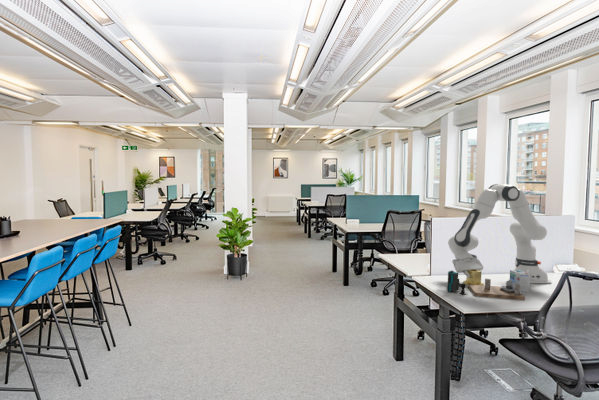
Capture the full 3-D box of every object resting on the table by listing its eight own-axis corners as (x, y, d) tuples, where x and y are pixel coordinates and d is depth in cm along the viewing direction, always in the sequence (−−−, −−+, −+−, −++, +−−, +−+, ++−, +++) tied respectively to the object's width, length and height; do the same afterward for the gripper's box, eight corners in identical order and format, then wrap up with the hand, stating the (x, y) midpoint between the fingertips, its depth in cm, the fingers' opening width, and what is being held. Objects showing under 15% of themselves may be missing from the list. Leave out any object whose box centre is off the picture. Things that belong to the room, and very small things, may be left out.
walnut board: (513, 290, 230) (514, 277, 230) (524, 300, 213) (525, 286, 212) (467, 287, 236) (468, 274, 235) (475, 296, 218) (475, 282, 218)
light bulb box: (508, 286, 240) (509, 269, 240) (518, 286, 241) (519, 269, 240) (519, 291, 230) (520, 273, 229) (530, 291, 230) (531, 274, 229)
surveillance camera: (464, 275, 217) (447, 271, 225) (463, 295, 218) (446, 291, 225) (468, 273, 221) (452, 270, 229) (467, 294, 222) (451, 290, 229)
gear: (515, 289, 227) (516, 278, 227) (521, 293, 218) (522, 282, 218) (497, 287, 229) (498, 277, 229) (502, 292, 220) (503, 281, 220)
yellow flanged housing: (473, 281, 249) (474, 268, 249) (486, 286, 239) (487, 272, 239) (460, 282, 246) (461, 269, 245) (473, 287, 235) (474, 273, 235)
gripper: (453, 257, 244) (464, 275, 236) (478, 255, 251) (489, 273, 243) (448, 262, 249) (458, 280, 240) (472, 260, 256) (483, 278, 247)
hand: (474, 277), depth 242 cm, fingers closed on yellow flanged housing, 6 cm apart
